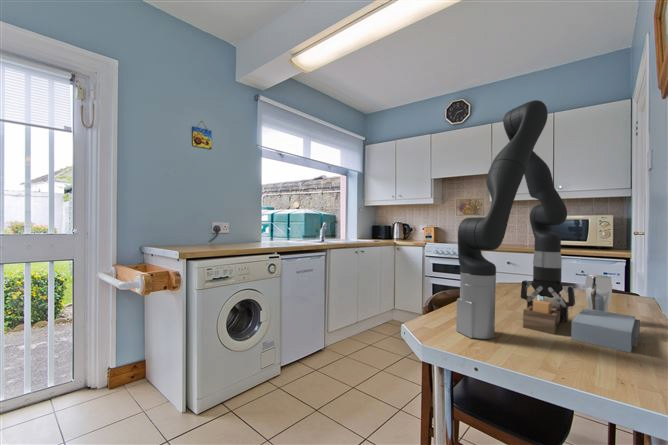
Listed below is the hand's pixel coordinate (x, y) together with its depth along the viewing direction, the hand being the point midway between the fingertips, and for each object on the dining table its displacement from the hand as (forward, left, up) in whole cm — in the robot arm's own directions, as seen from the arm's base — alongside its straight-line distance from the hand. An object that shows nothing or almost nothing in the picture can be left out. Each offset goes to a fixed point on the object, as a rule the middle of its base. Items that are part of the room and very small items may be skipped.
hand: (546, 315), depth 100 cm
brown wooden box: (0, 0, -3) cm, 3 cm away
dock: (+6, -13, -3) cm, 14 cm away
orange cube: (-6, -3, +1) cm, 7 cm away
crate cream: (+5, +2, +1) cm, 6 cm away
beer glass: (+22, -1, -3) cm, 22 cm away
